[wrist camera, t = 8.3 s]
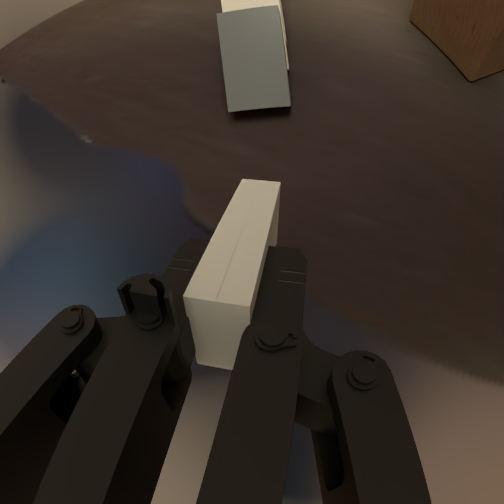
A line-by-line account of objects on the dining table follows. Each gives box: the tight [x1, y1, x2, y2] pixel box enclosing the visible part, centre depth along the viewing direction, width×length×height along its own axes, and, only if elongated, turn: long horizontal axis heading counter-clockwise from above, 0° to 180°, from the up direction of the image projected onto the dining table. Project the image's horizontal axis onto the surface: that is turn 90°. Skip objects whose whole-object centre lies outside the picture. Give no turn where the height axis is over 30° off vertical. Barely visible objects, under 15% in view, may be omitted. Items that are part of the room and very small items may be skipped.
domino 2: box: [221, 0, 289, 71], centre depth 21 cm, size 2×5×9 cm
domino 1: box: [217, 5, 291, 112], centre depth 21 cm, size 2×5×9 cm
